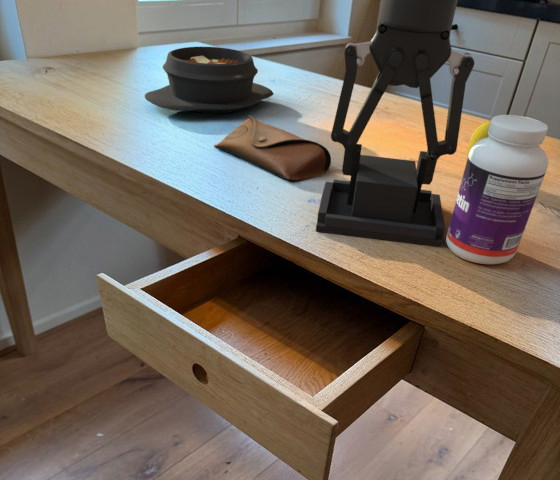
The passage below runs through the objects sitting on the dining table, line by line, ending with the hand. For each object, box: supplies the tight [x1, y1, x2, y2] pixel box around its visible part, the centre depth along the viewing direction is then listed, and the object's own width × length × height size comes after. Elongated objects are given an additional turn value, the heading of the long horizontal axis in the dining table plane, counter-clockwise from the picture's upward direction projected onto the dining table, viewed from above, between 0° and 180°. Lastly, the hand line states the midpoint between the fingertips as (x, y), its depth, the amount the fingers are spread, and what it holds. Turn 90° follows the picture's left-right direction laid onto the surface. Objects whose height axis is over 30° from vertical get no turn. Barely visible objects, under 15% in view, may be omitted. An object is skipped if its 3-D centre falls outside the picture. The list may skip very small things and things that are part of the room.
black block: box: [351, 154, 418, 224], centre depth 69 cm, size 7×9×4 cm
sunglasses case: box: [213, 115, 332, 181], centre depth 84 cm, size 18×7×7 cm
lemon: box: [466, 120, 491, 159], centre depth 83 cm, size 6×6×8 cm
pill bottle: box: [445, 114, 549, 265], centre depth 61 cm, size 8×8×14 cm
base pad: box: [315, 179, 446, 247], centre depth 71 cm, size 15×12×2 cm
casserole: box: [144, 46, 274, 114], centre depth 102 cm, size 25×19×8 cm
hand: (381, 204), depth 70 cm, fingers closed on black block, 7 cm apart
